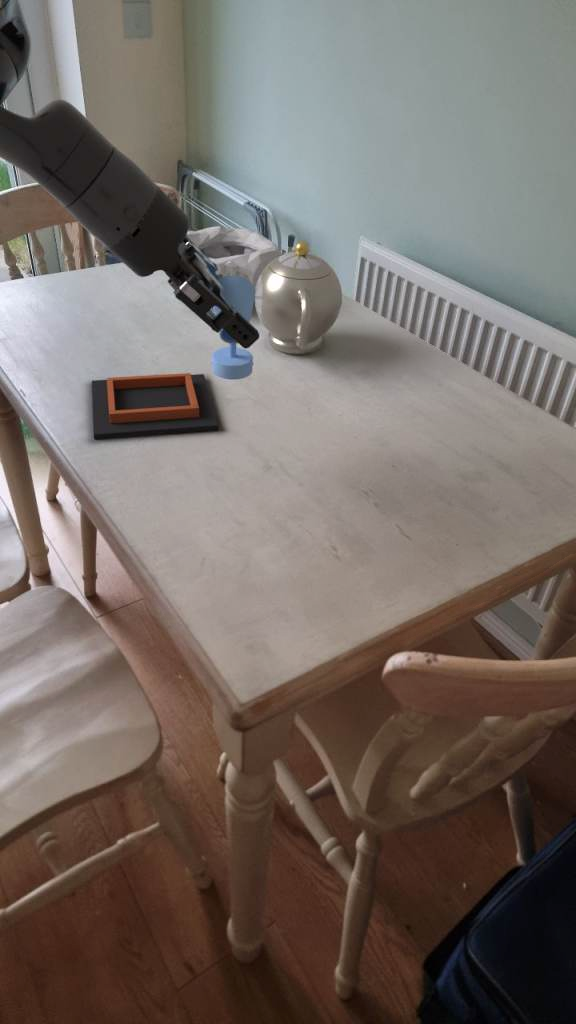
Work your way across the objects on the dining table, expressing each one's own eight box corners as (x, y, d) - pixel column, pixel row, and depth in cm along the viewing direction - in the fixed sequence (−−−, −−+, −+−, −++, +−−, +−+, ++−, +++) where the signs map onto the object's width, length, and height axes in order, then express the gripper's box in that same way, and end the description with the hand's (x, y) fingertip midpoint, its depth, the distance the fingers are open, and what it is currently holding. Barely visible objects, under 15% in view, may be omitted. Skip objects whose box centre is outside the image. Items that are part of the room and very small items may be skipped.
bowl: (155, 279, 130) (151, 224, 124) (256, 269, 137) (258, 216, 131) (187, 326, 116) (185, 266, 109) (299, 312, 123) (303, 255, 116)
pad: (94, 439, 89) (91, 424, 87) (92, 385, 99) (90, 370, 98) (218, 430, 92) (218, 415, 91) (203, 378, 102) (203, 364, 101)
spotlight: (210, 353, 80) (210, 382, 75) (209, 267, 74) (209, 293, 69) (252, 354, 81) (255, 383, 76) (255, 269, 75) (259, 294, 69)
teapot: (250, 323, 118) (253, 224, 107) (329, 324, 119) (339, 226, 109) (257, 375, 104) (261, 267, 94) (346, 375, 106) (359, 269, 95)
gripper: (101, 218, 72) (214, 321, 82) (103, 270, 61) (232, 381, 71) (149, 163, 69) (260, 276, 79) (160, 207, 59) (286, 331, 69)
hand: (246, 325), depth 75 cm, fingers closed on spotlight, 7 cm apart
